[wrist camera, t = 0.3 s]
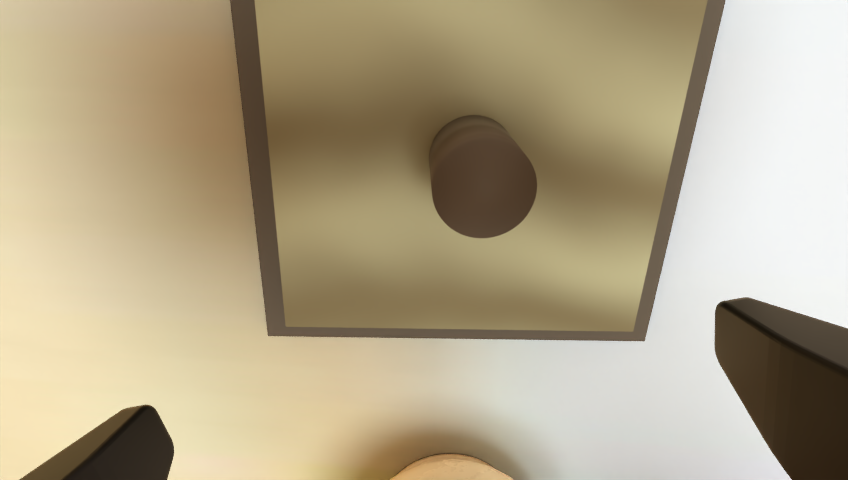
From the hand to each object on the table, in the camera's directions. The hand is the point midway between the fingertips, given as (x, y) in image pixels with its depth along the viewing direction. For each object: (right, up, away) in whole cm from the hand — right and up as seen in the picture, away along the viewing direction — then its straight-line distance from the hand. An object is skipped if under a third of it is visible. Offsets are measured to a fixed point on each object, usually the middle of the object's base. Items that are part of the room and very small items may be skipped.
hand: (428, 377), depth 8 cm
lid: (+2, +5, +10) cm, 12 cm away
